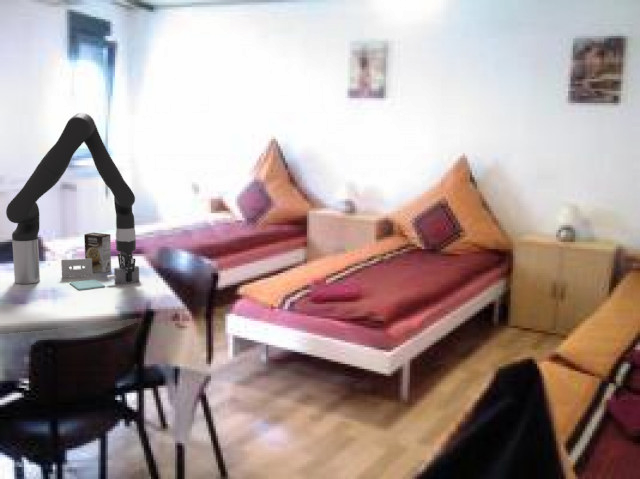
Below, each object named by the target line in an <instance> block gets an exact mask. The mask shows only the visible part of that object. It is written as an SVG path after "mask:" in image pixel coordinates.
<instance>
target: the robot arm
mask: <svg viewBox="0 0 640 479" xmlns="http://www.w3.org/2000/svg"><path fill="white" fill-rule="evenodd" d="M83 143H84V144H85V145H86V147H87V149H88V150H89V153H90V155H91V157H92V161H93V163H94V166H95V168H96V171H97V173H98V174H99V176H100V177H101V179H102V181H103V182H104V184H105V185H106V187H107V188H109V190H110V192H111V193H112V195H113V199H114V200H113V202H114V209H115V216H116V217H115V227H116V229H115V246H116V247H115V248H116V251H117V252H120V253H117V259H118V268H119V267H125V269H126V282H131V281H132V272H134V269H135V266H136V258H135V257H134V256H133V252H134V251H136V250H137V245H136V244H137V242H136V241H137V240H136V239H137V238H136V228H135V225H136V224H135V215H134V212H133V206H134V204H135V202H136V196H135V194H134V192H133V190H132V188H130V186H129V185H128V184H127V182H126V181H125V179H124V178H123V176H122V173H121V172H120V170H119V169H118V167H117V166H116V163H115V162H114V161H113V158H112V157H111V155H110V154H109V151H108V150H107V148H106V146H105V144H104V142H103V139H102V137H101V135H100V133H99V129H98V127H97V124H96V122H95V120H94V118H93V117H92V116H91V115H90V114H88V113H84V112H79V113H76V114H75V115H73V116H72V117H70V118H69V119H68V121H67V123H66V124H65V127H64V129H63V130H62V132H61V134H60V136H59V137H58V139H57V141H56V143H55V144H54V145H53V146H52V147H51V148H50V149H49V150H48V151H47V152H46V154H45V155H44V157H43V158H42V159H41V160H40V162H39V163H38V165H37V166H36V167H35V169H34V171H33V172H32V174H31V175H30V176H29V178H28V180H27V181H26V183H25V184H24V185H23V187H22V188H21V189H20V191H19V192H18V193H17V194H16V195H15V196H14V197H13V198H12V199H11V200H10V201H9V203H8V205H7V207H6V211H5V214H6V217H7V219H8V221H9V222H11V223H13V224H16V228H15V230H14V231H13V232H11V233H12V234H11V238H12V255H13V258H12V259H13V273H14V274H13V275H14V283H15V284H19V285H29V284H36V283H39V282H40V281H41V275H40V254H39V238H38V237H39V236H38V234H39V232H40V209H39V205H38V203H37V202H38V200H40V198H41V197H42V196H44V195H45V194H46V193H47V192H49V191H50V190H51V189H52V188H53V187H55V185H56V184H57V183H58V182H59V181H60V180H61V178H62V177H63V176H64V174H65V172H66V170H67V168H68V167H69V165H70V163H71V161H72V158H73V156H74V154H75V153H76V152H77V150H78V149H79V148H80V147H81V146H82V145H83ZM127 267H128V268H127Z"/></svg>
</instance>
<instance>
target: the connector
mask: <svg viewBox="0 0 640 479" xmlns="http://www.w3.org/2000/svg"><path fill="white" fill-rule="evenodd" d="M127 268H128V267H127ZM106 279H107V280H113V279H114V284H115V285H126V284H133V282H135V283H138V281H139V282H140V266H138V265H135V269H134V272H132V281H131V282H126V269H125V267H119V266H118V267H115V268H113V274H110V275H109V274H108V275H106Z"/></svg>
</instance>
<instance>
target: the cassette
mask: <svg viewBox="0 0 640 479" xmlns="http://www.w3.org/2000/svg"><path fill="white" fill-rule="evenodd" d="M60 262H61V263H60V264H61V278H62V279H74V278H75V279H76V278H90V277H94V276H93V274H94V272H93V271H92V259H91V258H89V259H85V258H71V259H70V258H69V259H68V258H67V259H61V261H60ZM74 267H80V268H74Z"/></svg>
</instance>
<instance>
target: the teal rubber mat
mask: <svg viewBox="0 0 640 479" xmlns="http://www.w3.org/2000/svg"><path fill="white" fill-rule="evenodd" d="M69 285H70V286H72V287H73V288H75V289H76V290H78V291H84V290H85V291H86V290H92V289H93V290H94V289H101V288H105V287H106V285H104V284H103V283H102V282H100V281H99V280H97V279H95V278H94V279H87V280H79V281H69Z"/></svg>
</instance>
